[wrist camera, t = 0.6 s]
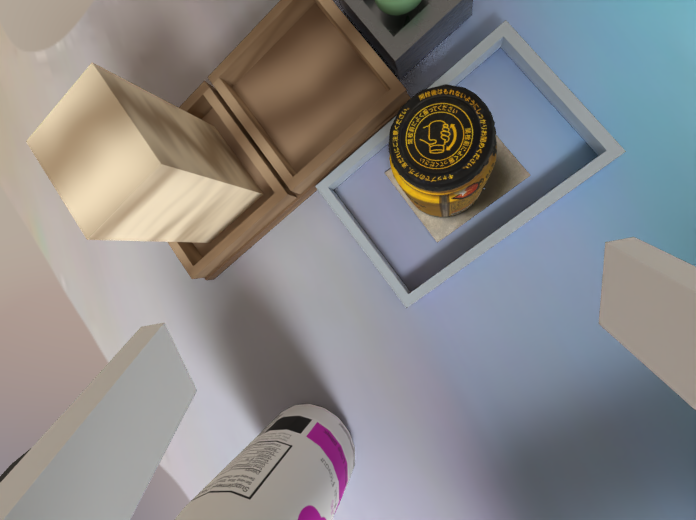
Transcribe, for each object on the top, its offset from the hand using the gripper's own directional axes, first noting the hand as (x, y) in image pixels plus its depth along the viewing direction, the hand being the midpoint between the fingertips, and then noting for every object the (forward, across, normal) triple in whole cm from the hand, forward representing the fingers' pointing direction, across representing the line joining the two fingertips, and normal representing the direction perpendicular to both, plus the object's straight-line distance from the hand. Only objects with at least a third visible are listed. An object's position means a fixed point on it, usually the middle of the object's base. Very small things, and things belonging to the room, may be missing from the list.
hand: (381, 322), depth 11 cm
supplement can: (+14, +8, +21) cm, 27 cm away
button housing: (+26, -6, -12) cm, 29 cm away
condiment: (+20, -8, +1) cm, 22 cm away
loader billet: (+24, +13, -2) cm, 28 cm away
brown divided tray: (+26, +8, -4) cm, 27 cm away
